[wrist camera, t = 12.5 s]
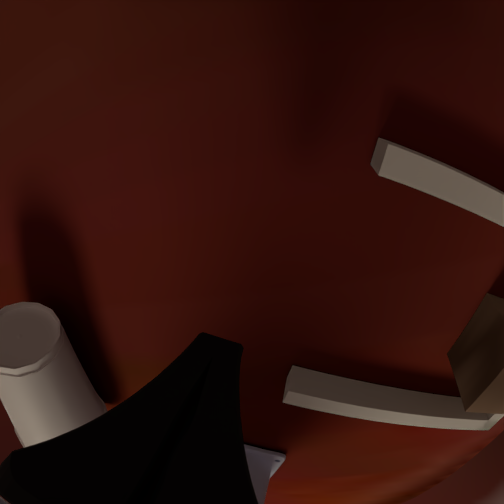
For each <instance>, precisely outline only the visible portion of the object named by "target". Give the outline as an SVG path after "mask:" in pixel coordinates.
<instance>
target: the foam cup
mask: <svg viewBox="0 0 504 504" xmlns="http://www.w3.org/2000/svg"><path fill="white" fill-rule="evenodd" d="M0 398H1V400H2V402H3V405H4V407H5V409H6V411H7V413H8V415H9V417H10V419H11V421H12V423H13V425H14V427H15V433H16V435H17V436H18V438H19V440H20V442H21V443H22V445H23V447H24V448H25V447H28V446H31V445H35V444H38V443H41V442H44V441H47V440H50V439H52V438H55V437H57V436H59V435H62V434H64V433H67V432H69V431H71V430H73V429H76V428H78V427H80V426H82V425H84V424H86V423H88V422H90V421H92V420H94V419H95V418H97V417H99V416H101V415H103V414H104V413H106V412H108V411H107V408H106V405H105V403H104V402H103V400H102V399H101V398H100V397H99V396H98V394H97V393H96V391H95V389H94V388H93V386H92V384H91V382H90V380H89V379H88V377H87V375H86V373H85V371H84V369H83V367H82V365H81V363H80V361H79V360H78V358H77V356H76V354H75V352H74V350H73V347H72V345H71V343H70V341H69V339H68V337H67V335H66V333H65V330H64V328H63V327H62V325H61V323H60V320H59V319H58V317H57V316H56V314H55V313H54V311H53V310H52V309H50V308H48V307H46V306H44V305H42V304H40V303H34V302H20V303H16V304H12V305H8V306H5V307H4V308H2V309H0Z"/></svg>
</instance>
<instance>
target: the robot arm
mask: <svg viewBox="0 0 504 504" xmlns="http://www.w3.org/2000/svg"><path fill="white" fill-rule="evenodd" d="M242 352H243V346H242V345H241V344H239V343H236V342H232V341H229V340H226V339H223V338H219V337H216V336H213V335H210V334H207V333H204V332H202V333H200V334H199V335H198V336H197V337H196V338H195V339H194V341H193V342H192V343H191V344H190V345H189V346H188V347H187V348H186V349H185V350H184V351H183V352H182V353H181V354H180V355H179V356H178V357H177V358H176V359H175V360H174V361H173V362H172V363H171V364H170V365H169V366H168V367H167V368H166V369H164V370H163V371H162V372H161V373H160V374H159V375H158V376H157V377H155V378H154V379H153V380H152V381H150V382H149V383H148V384H147V385H145V386H144V387H143V388H141V389H140V390H139V391H138V392H136V393H135V394H134V395H132V396H131V397H129V398H128V399H126V400H125V401H124V402H122V403H121V404H119V405H117V406H116V407H114V408H113V409H111V410H109V411H108V412H106V413H104V414H103V415H101V416H99V417H97V418H95V419H94V420H92V421H90V422H88V423H86V424H84V425H82V426H80V427H78V428H76V429H73V430H71V431H69V432H67V433H64V434H62V435H59V436H57V437H55V438H52V439H50V440H47V441H44V442H41V443H38V444H35V445H31V446H28V447H25V448H21V449H18V450H14V451H12V452H11V454H10V455H9V456H8V457H7V458H6V459H5V460H4V461H3V462H2V464H1V465H0V495H1V496H2V497H3V498H4V499H6V500H7V501H8V502H9V503H11V504H264V501H265V496H266V492H267V487H268V483H269V479H270V478H271V476H272V475H273V474H274V473H275V472H276V470H277V469H278V468H279V467H280V465H281V464H282V463H283V462H284V460H285V458H286V455H285V454H283V453H278V452H274V451H270V450H265V449H261V448H257V447H253V446H249V445H246V444H244V442H243V435H242V426H241V417H240V400H239V374H240V362H241V356H242ZM3 498H1V497H0V504H9V503H7V502H6V501H5V500H4V499H3Z"/></svg>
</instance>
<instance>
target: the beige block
mask: <svg viewBox="0 0 504 504" xmlns="http://www.w3.org/2000/svg"><path fill="white" fill-rule="evenodd" d="M447 355H448V358H449V361H450V364H451V367H452V370H453V373H454V376H455V379H456V383H457V386H458V389H459V392H460V396H461V399H462V403H463V407H464V410H465V412H475V413H491V414H504V299H503V298H500V297H497V296H494V295H491V294H488V293H487V294H486V295H485V297H484V299H483V300H482V302H481V304H480V305H479V307H478V309H477V310H476V312H475V313H474V315H473V317H472V318H471V320H470V321H469V323H468V324H467V326H466V327H465V329H464V330H463V332H462V333H461V335H460V336H459V338H458V339H457V341H456V342H455V344H454V345H453V346H452V348H451V349H450V351H449V352H448V353H447Z"/></svg>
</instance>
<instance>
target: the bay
mask: <svg viewBox="0 0 504 504" xmlns="http://www.w3.org/2000/svg"><path fill="white" fill-rule="evenodd" d="M370 165H371V166H372V167H373V169H374V170H375V171H376V173H377V174H378V175H379V176H382V177H385V178H388V179H391V180H393V181H396V182H399V183H402V184H404V185H407V186H410V187H412V188H415V189H418V190H420V191H423V192H425V193H428V194H430V195H433V196H435V197H438V198H440V199H443V200H445V201H448V202H450V203H452V204H455V205H457V206H459V207H462V208H464V209H466V210H468V211H471V212H473V213H475V214H477V215H480V216H482V217H484V218H486V219H488V220H490V221H493V222H495V223H497V224H499V225H501V226H503V227H504V192H502V191H500V190H498V189H497V188H495V187H493V186H491V185H489V184H487V183H485V182H483V181H481V180H479V179H477V178H475V177H473V176H471V175H469V174H467V173H465V172H462V171H460V170H458V169H456V168H454V167H452V166H449V165H447V164H445V163H443V162H440V161H438V160H436V159H433V158H431V157H429V156H426V155H424V154H421V153H419V152H416V151H414V150H411V149H409V148H406V147H404V146H401V145H398V144H396V143H393V142H390V141H388V140H385V139H382V138H379V137H378V141H377V144H376V147H375V150H374V154H373V157H372V160H371V163H370ZM283 403H287V404H291V405H295V406H299V407H304V408H308V409H313V410H317V411H322V412H327V413H332V414H337V415H343V416H348V417H354V418H360V419H366V420H372V421H379V422H386V423H394V424H402V425H410V426H420V427H431V428H444V429H462V430H489V429H490V428H491V427H492V426H493V425H495V424H496V423H497V422H498V421H499V420H500V419H501V418H502V417H503V416H504V414H491V413H475V412H465V410H464V407H463V403H462V399H461V397H452V396H445V395H438V394H431V393H424V392H417V391H411V390H405V389H399V388H394V387H388V386H383V385H378V384H372V383H367V382H363V381H358V380H353V379H348V378H344V377H339V376H335V375H330V374H326V373H322V372H318V371H314V370H309V369H305V368H301V367H298V366H294V365H292V368H291V370H290V372H289V374H288V376H287V380H286V386H285V391H284V397H283Z"/></svg>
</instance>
